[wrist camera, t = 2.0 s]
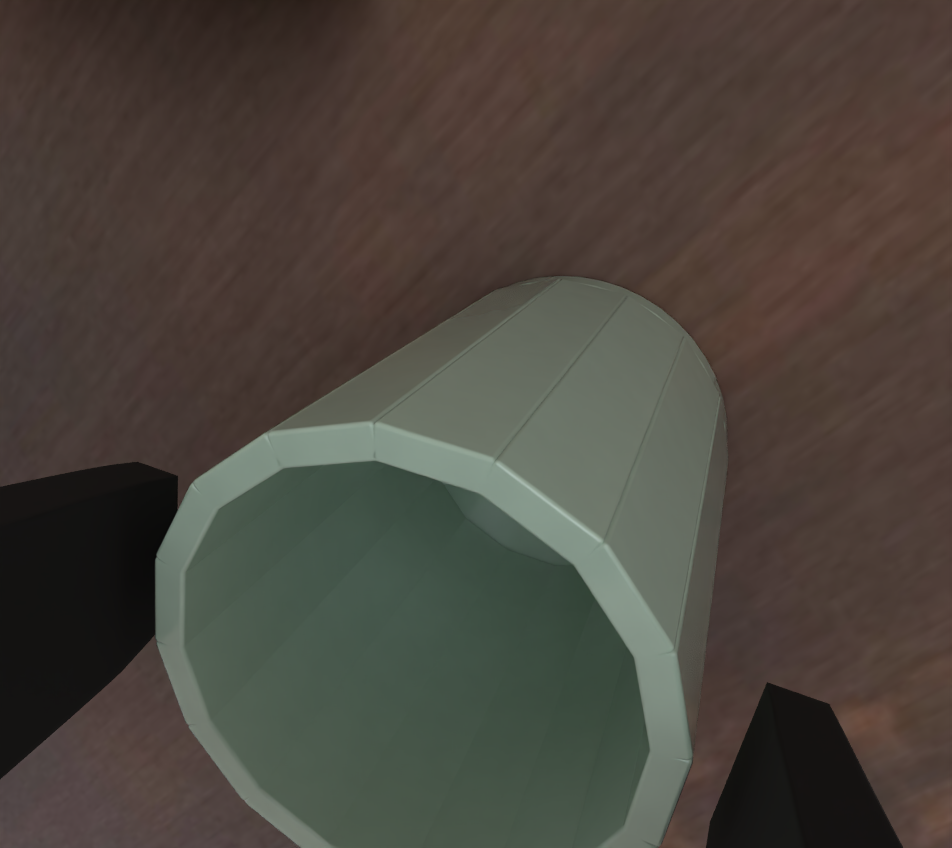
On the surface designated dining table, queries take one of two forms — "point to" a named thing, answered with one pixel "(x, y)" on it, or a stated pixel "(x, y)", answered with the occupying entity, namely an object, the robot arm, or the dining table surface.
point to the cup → (463, 585)
